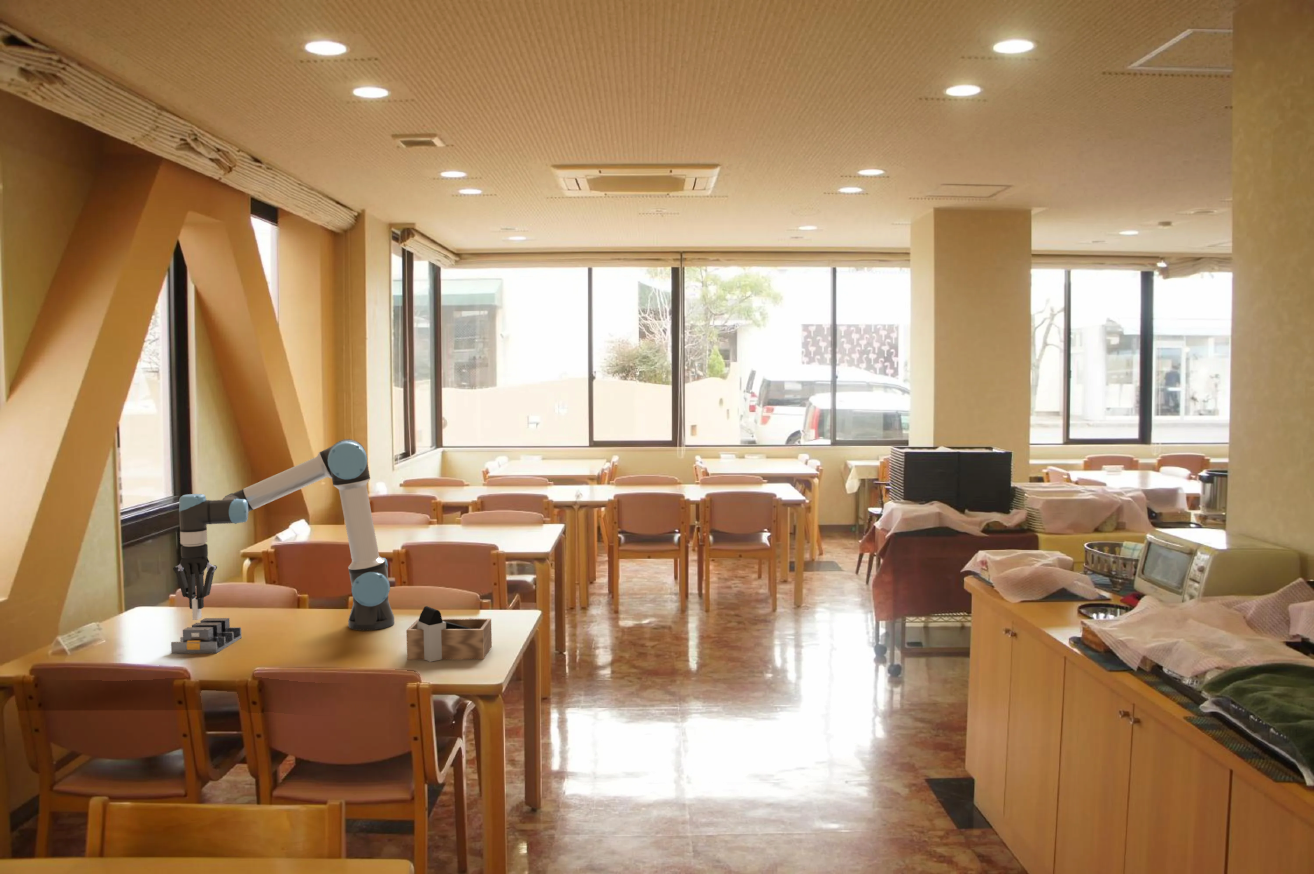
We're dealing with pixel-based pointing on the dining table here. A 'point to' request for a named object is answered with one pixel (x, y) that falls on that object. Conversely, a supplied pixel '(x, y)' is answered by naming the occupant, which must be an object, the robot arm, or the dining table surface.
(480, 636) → the open wooden box
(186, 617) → the dining table surface
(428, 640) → the decorative object
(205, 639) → the gray labeled box
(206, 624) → the rack
